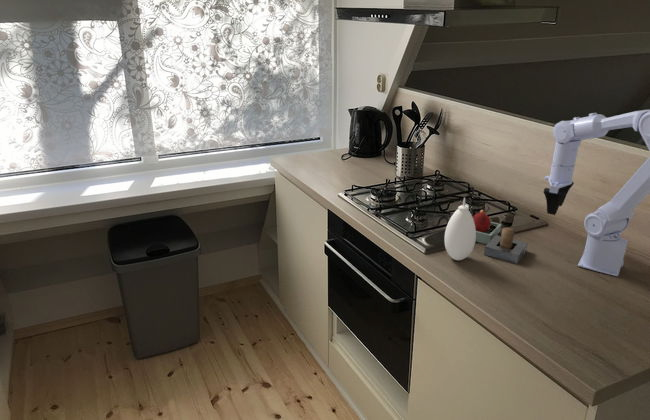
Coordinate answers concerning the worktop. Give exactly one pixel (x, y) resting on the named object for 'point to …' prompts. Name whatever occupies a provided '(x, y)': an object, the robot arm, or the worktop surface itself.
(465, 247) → the sauce bottle
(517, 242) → the gray square socket block
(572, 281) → the worktop surface
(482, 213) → the onion
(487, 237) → the case
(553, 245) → the worktop surface
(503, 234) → the tan upright cylinder
